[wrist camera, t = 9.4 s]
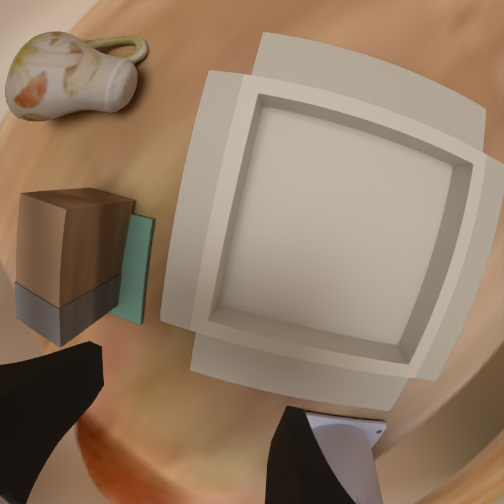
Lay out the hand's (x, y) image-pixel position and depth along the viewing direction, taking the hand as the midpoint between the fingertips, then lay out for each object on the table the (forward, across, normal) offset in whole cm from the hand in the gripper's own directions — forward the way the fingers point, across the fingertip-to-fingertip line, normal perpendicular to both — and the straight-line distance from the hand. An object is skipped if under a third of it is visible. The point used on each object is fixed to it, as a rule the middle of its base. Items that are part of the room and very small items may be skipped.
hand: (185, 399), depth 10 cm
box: (+10, +10, -1) cm, 14 cm away
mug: (+11, +14, -13) cm, 22 cm away
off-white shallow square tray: (+10, -6, -6) cm, 13 cm away
